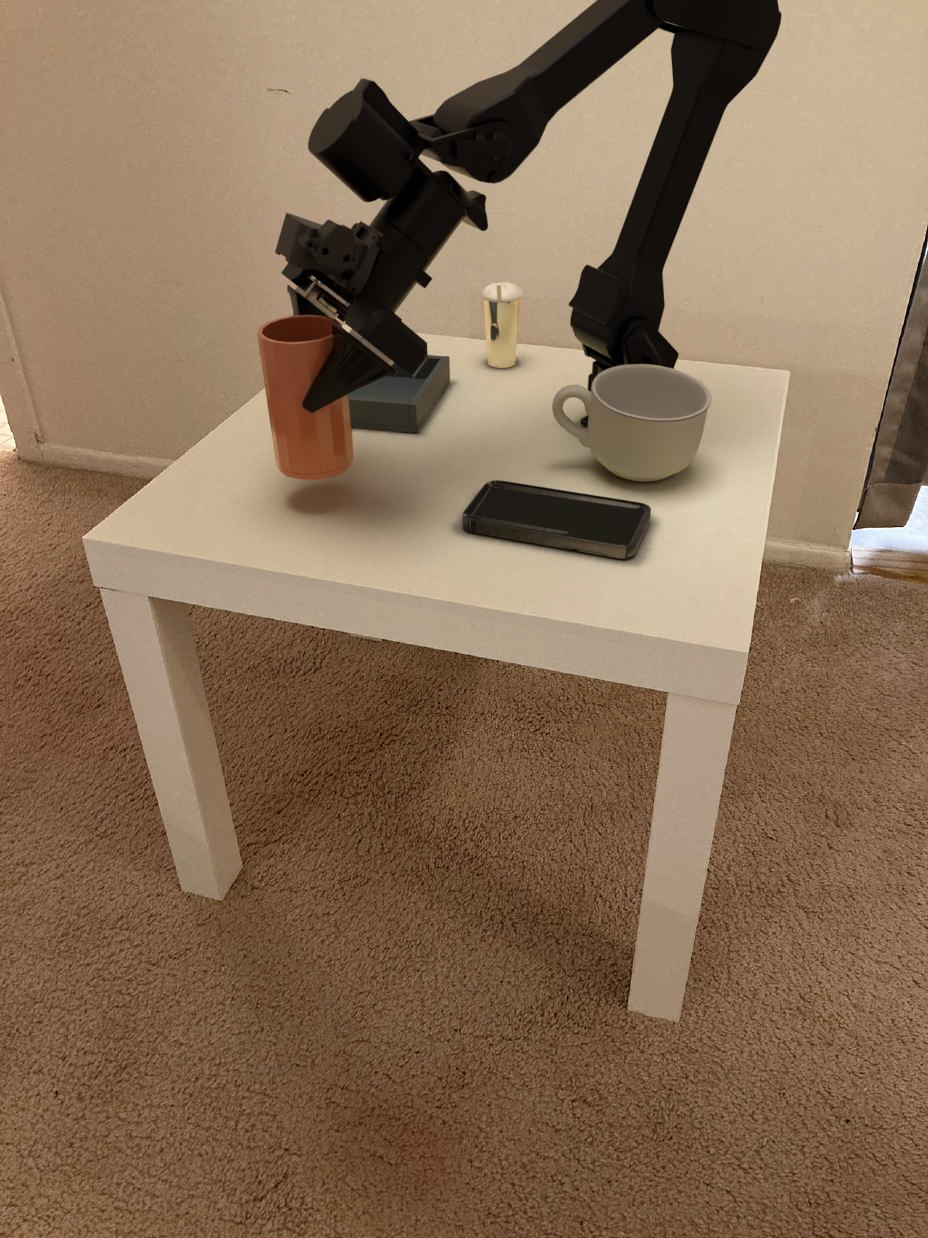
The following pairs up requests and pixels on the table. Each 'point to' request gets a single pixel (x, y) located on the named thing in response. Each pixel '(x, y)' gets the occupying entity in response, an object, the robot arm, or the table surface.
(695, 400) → the teacup
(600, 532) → the phone
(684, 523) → the table surface
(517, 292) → the milkshake
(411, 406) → the tray
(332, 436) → the cup
